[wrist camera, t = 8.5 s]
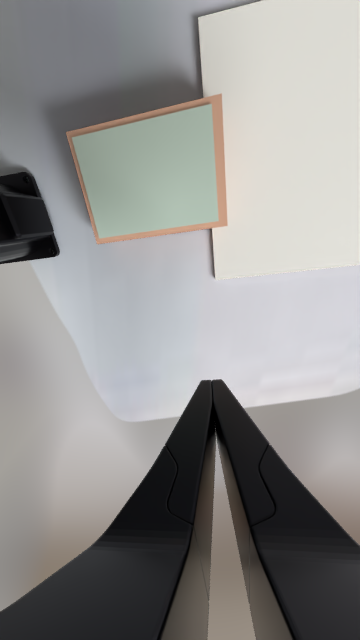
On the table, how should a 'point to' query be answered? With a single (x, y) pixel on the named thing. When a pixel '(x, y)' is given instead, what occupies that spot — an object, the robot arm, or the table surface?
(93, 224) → the tile
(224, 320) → the table surface
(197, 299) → the table surface
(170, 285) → the table surface
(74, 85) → the table surface
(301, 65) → the mat
